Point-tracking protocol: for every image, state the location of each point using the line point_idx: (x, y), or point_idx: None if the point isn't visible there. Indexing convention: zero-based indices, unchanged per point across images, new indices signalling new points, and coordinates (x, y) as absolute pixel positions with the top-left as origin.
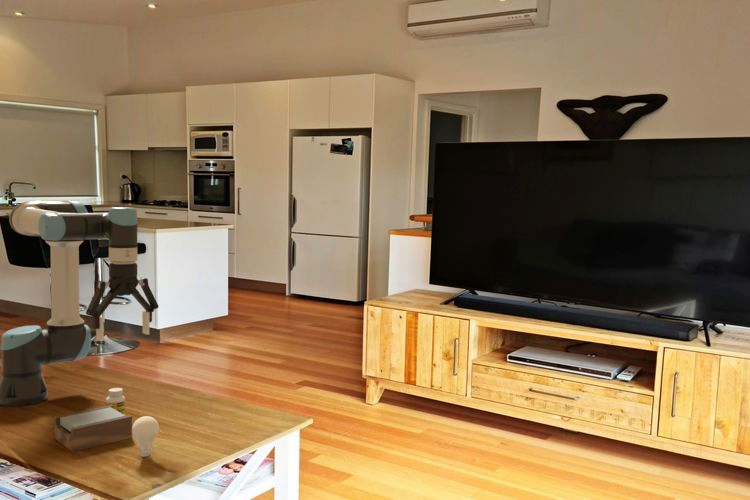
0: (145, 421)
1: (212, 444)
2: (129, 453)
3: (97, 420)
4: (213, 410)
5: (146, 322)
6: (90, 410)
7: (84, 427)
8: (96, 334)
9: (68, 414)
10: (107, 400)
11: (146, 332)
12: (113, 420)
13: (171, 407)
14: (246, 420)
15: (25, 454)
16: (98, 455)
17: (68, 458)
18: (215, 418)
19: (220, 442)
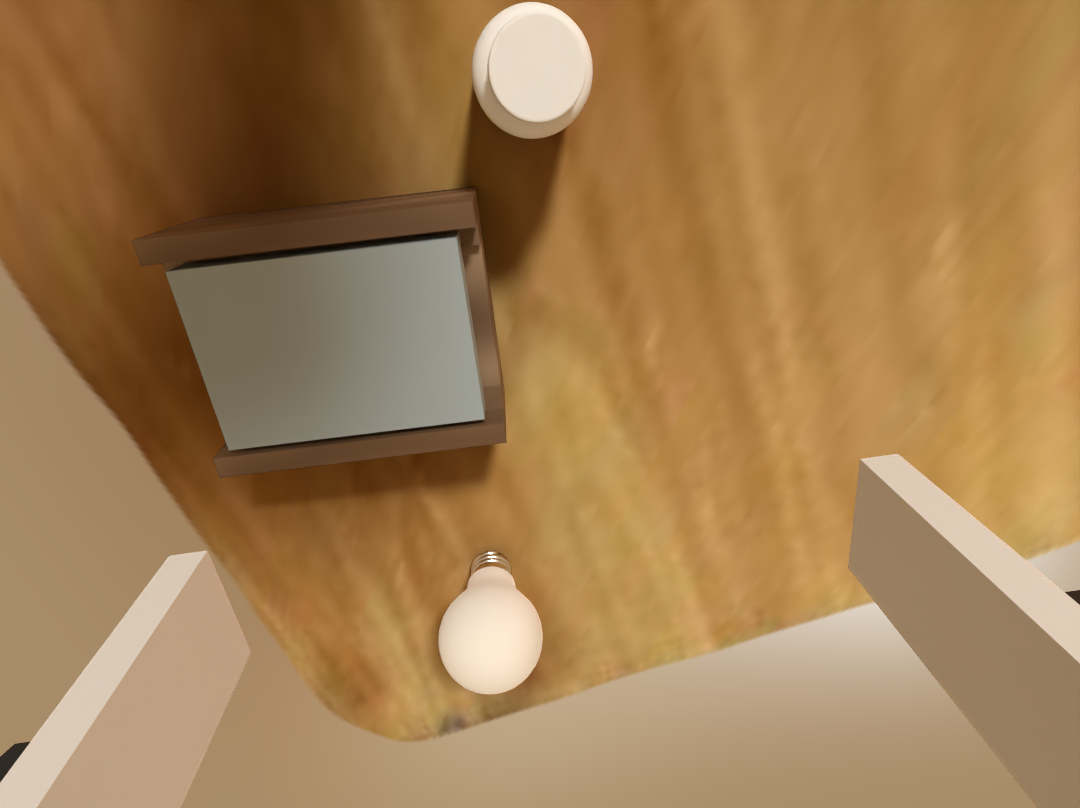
0: (480, 692)
1: (728, 561)
2: (457, 500)
3: (344, 417)
4: (989, 205)
5: (962, 696)
6: (340, 236)
7: (275, 469)
8: (132, 613)
9: (213, 243)
10: (475, 88)
11: (865, 573)
12: (413, 453)
13: (874, 9)
14: (984, 412)
15: (73, 308)
16: (352, 464)
17: None
18: (915, 320)
19: (759, 558)
